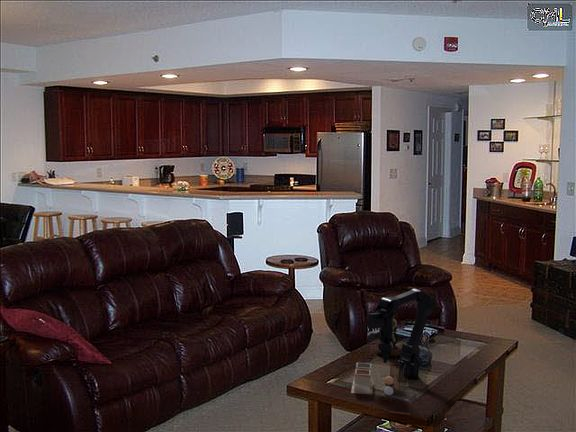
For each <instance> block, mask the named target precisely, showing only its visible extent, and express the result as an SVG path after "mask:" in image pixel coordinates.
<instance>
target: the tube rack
mask: <svg viewBox="0 0 576 432" xmlns="http://www.w3.org/2000/svg"><path fill="white" fill-rule="evenodd" d="M355 364H356V365H355V371H354V377H353V382H352V384H351V385H352V386H351V392H350V393H351V394H361V395H373V387H374V379H372V366H373V365H372V363H368V362H356V363H355Z"/></svg>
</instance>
